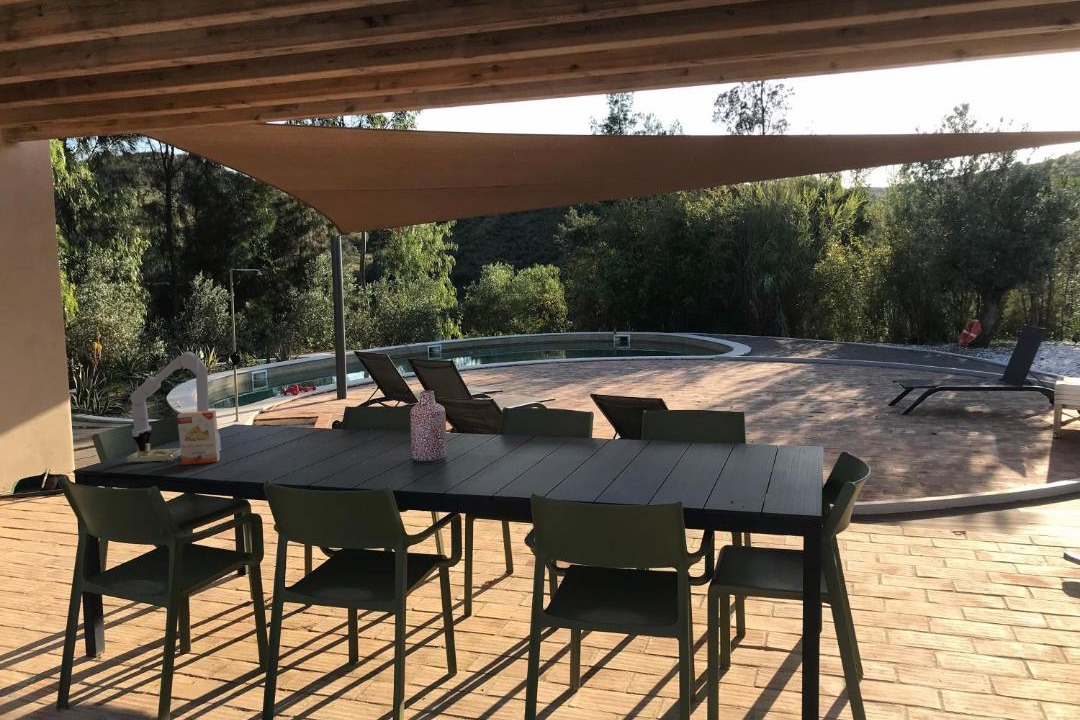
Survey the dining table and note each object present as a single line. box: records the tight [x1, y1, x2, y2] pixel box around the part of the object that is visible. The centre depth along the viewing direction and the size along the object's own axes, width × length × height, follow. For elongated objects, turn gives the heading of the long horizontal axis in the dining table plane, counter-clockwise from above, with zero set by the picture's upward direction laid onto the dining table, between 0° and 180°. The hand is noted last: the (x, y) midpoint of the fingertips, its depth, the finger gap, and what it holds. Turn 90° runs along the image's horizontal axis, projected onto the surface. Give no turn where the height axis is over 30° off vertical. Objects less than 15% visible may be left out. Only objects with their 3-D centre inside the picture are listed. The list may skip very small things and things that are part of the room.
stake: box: [166, 451, 174, 464], centre depth 360 cm, size 2×4×5 cm, turn 3°
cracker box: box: [177, 410, 221, 466], centre depth 358 cm, size 14×6×21 cm, turn 99°
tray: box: [124, 447, 181, 463], centre depth 372 cm, size 19×14×2 cm
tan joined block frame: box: [136, 443, 175, 456], centre depth 372 cm, size 14×9×5 cm, turn 92°
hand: (144, 450), depth 372 cm, fingers closed on tan joined block frame, 2 cm apart
